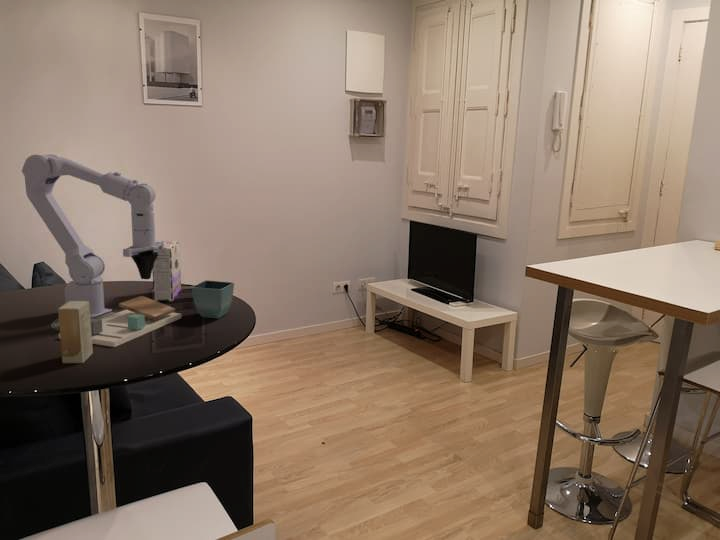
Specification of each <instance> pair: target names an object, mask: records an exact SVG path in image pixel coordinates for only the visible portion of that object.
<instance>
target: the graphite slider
mask: <svg viewBox="0 0 720 540" xmlns="http://www.w3.org/2000/svg"><path fill="white" fill-rule="evenodd" d="M90 322H91V334H92V335H95V334H97V333H100V332H102V331H103V330H102V319H101V318H96V317H93V318H90Z"/></svg>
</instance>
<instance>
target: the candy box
mask: <svg viewBox="0 0 720 540" xmlns="http://www.w3.org/2000/svg"><path fill="white" fill-rule="evenodd" d="M160 242H164V249H159V250H154V251H153V252H157V253H158V257H157V258H156V260H155V262H154V265H153V269H152V291H153V300H154V301H157V302H174V300H175V298H176V297H177V296H178V295H179V293H180V292H181V291H182V277H181V276H182V275H181V274H182V273H181V254H180V253H181V251H180V241H179V240H160Z"/></svg>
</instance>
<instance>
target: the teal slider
mask: <svg viewBox="0 0 720 540" xmlns="http://www.w3.org/2000/svg"><path fill="white" fill-rule="evenodd" d="M127 319H128V329H135V330H138V329H141V328H143V327H145V315H140V314H133V315H131V316H128V317H127Z"/></svg>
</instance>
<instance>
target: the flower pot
mask: <svg viewBox="0 0 720 540" xmlns="http://www.w3.org/2000/svg"><path fill="white" fill-rule="evenodd" d="M234 288H235V283H234V282H230V281H217V280H203V281H201V282H199V283H197V284H195V285H193V286H192V287H191V292H192V293H191V294H192V299H193V304H194V306H195V309H196V311H197V313H198V314H199V316H201V317H202V318H209V319H220V318H222V317H223V316H224V315H226V314H227V313H228V311H229V310H230V308H231V304H232V302H233V298H234V297H233V296H234Z"/></svg>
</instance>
